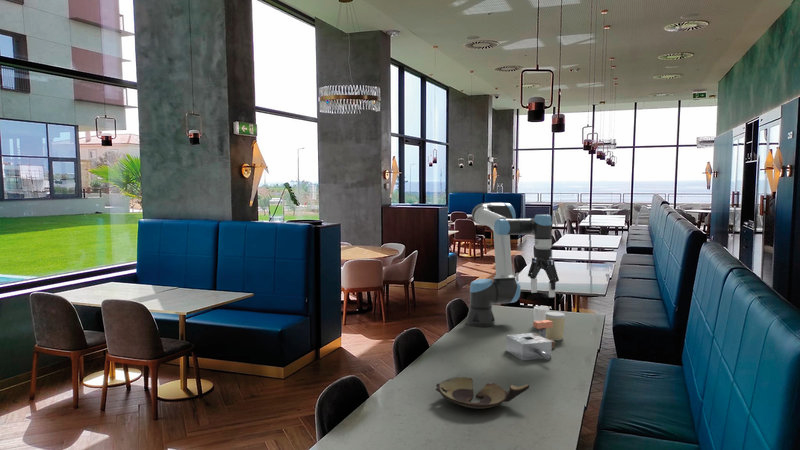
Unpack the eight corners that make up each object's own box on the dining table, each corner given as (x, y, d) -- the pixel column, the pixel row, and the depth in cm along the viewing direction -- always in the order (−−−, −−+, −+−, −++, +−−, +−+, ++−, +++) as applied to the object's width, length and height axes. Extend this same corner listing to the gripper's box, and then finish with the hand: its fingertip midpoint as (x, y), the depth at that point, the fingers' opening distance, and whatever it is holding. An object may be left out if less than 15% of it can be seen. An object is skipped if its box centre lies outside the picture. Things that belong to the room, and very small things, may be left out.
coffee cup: (562, 335, 264) (563, 311, 263) (566, 341, 254) (567, 316, 254) (543, 335, 265) (543, 311, 264) (546, 340, 255) (547, 315, 254)
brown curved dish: (452, 385, 198) (452, 365, 198) (532, 402, 183) (533, 380, 183) (424, 407, 179) (425, 385, 178) (512, 428, 164) (512, 404, 163)
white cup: (532, 327, 278) (533, 308, 277) (533, 324, 285) (534, 305, 284) (548, 329, 275) (549, 310, 274) (549, 325, 283) (549, 306, 282)
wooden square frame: (530, 344, 249) (530, 338, 249) (545, 343, 251) (545, 336, 251) (539, 349, 241) (539, 343, 241) (554, 348, 244) (555, 341, 243)
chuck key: (532, 345, 247) (533, 321, 246) (547, 344, 249) (548, 319, 248) (536, 348, 243) (537, 323, 243) (552, 346, 246) (552, 321, 245)
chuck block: (506, 350, 240) (506, 335, 239) (533, 347, 244) (534, 332, 243) (533, 367, 218) (534, 350, 217) (563, 364, 222) (564, 347, 221)
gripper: (520, 246, 255) (520, 291, 256) (552, 250, 232) (552, 299, 233) (533, 246, 258) (533, 290, 259) (567, 250, 235) (567, 298, 235)
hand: (542, 294), depth 246 cm, fingers open, 13 cm apart
